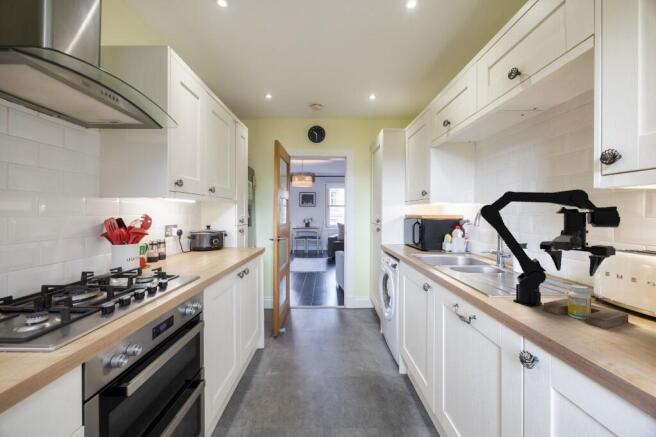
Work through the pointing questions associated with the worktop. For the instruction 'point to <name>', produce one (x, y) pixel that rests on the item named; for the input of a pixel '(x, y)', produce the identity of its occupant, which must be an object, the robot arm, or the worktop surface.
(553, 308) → the notched board
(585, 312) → the supplement bottle
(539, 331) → the worktop surface
